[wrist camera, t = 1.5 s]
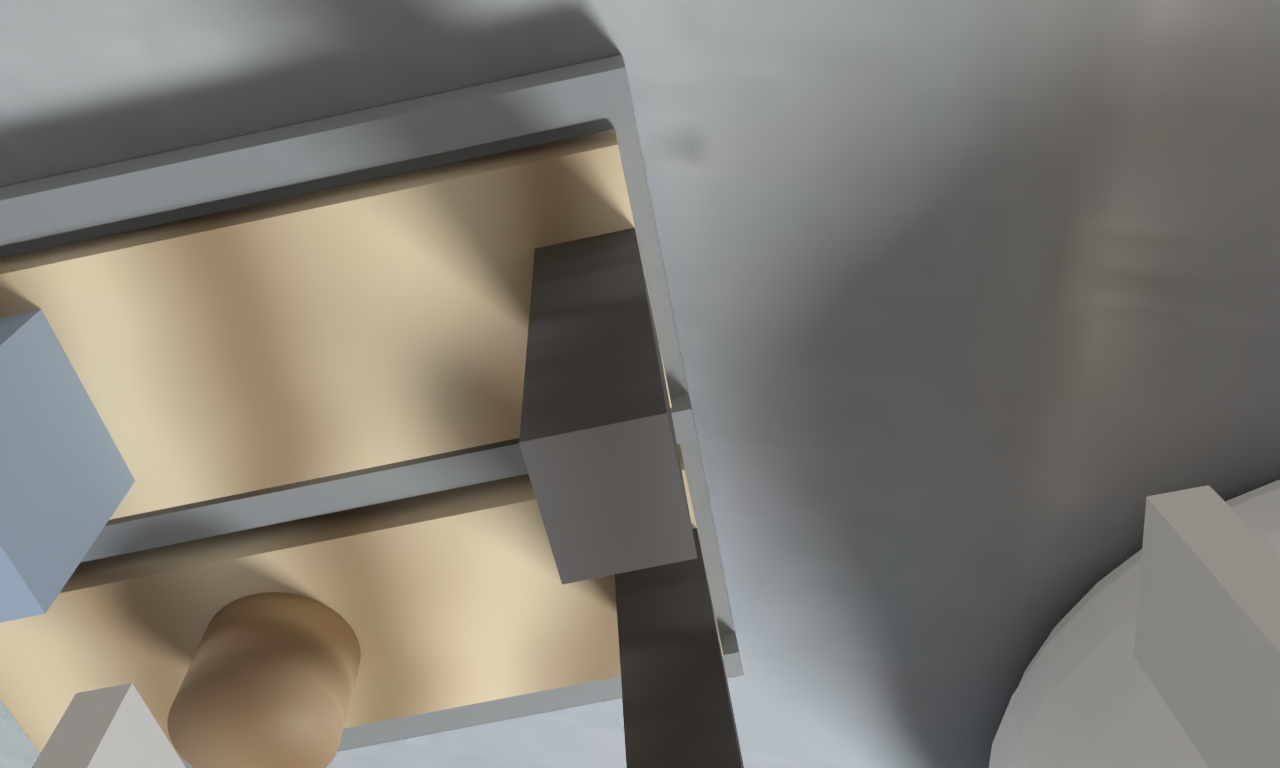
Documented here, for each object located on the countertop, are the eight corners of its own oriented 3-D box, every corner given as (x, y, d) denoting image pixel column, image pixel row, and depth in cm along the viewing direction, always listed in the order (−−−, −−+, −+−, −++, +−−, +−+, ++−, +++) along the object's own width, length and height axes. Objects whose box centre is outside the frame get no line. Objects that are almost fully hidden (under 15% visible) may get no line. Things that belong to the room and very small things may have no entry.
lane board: (95, 763, 33) (76, 800, 32) (-265, 244, 24) (-314, 267, 22) (736, 641, 32) (743, 674, 31) (622, 54, 23) (625, 67, 22)
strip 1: (-71, 529, 27) (-366, 847, 19) (-226, 306, 24) (-676, 568, 15) (667, 381, 27) (715, 641, 18) (615, 128, 23) (642, 300, 14)
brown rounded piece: (240, 716, 30) (208, 801, 27) (178, 608, 27) (138, 690, 25) (381, 689, 29) (362, 771, 27) (330, 578, 27) (305, 657, 25)
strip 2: (80, 746, 32) (-102, 1084, 23) (-33, 583, 28) (-297, 909, 20) (717, 624, 31) (775, 928, 22) (679, 441, 28) (731, 717, 19)
